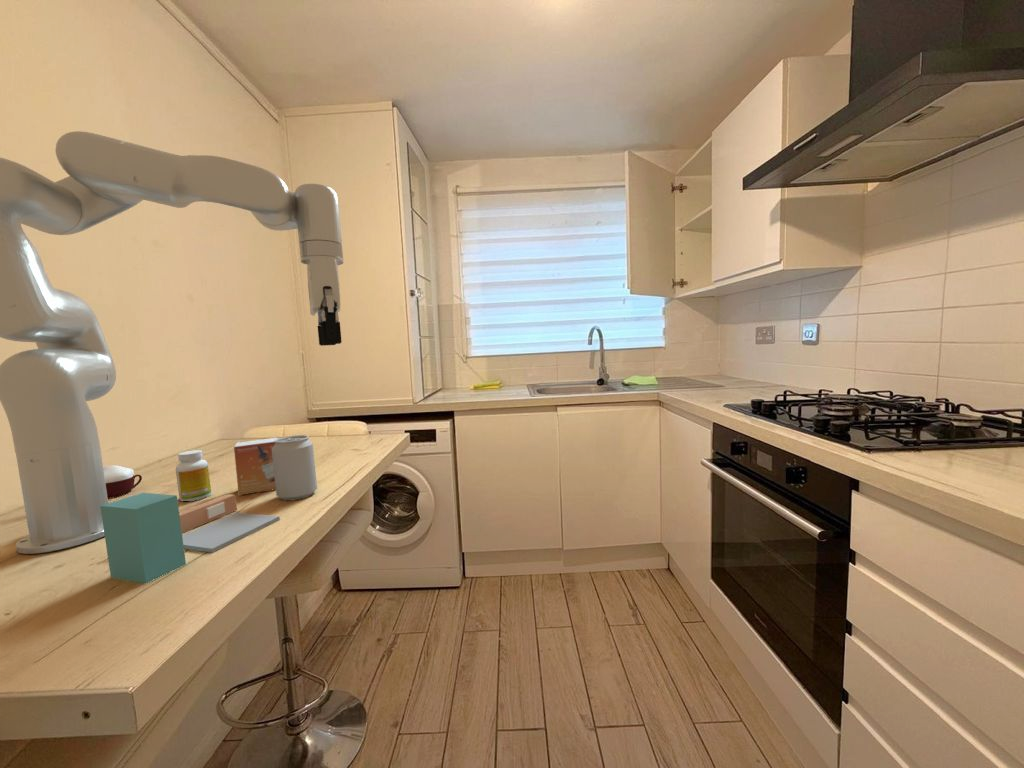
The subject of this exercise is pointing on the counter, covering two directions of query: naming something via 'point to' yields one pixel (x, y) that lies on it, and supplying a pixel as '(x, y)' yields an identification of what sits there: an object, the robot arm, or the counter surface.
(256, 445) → the small box
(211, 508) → the price rail
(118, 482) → the cocoa
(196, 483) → the supplement bottle
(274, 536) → the counter surface
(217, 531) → the mat
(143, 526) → the carton block
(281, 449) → the can
